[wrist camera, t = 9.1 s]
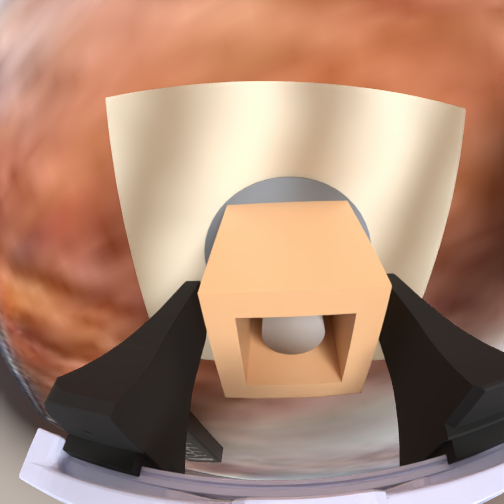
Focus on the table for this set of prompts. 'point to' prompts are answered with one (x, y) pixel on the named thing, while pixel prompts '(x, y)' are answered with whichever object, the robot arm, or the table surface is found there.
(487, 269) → the table surface
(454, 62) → the table surface
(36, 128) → the table surface
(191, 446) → the multiport hub
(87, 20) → the table surface
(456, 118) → the post board
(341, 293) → the collar
